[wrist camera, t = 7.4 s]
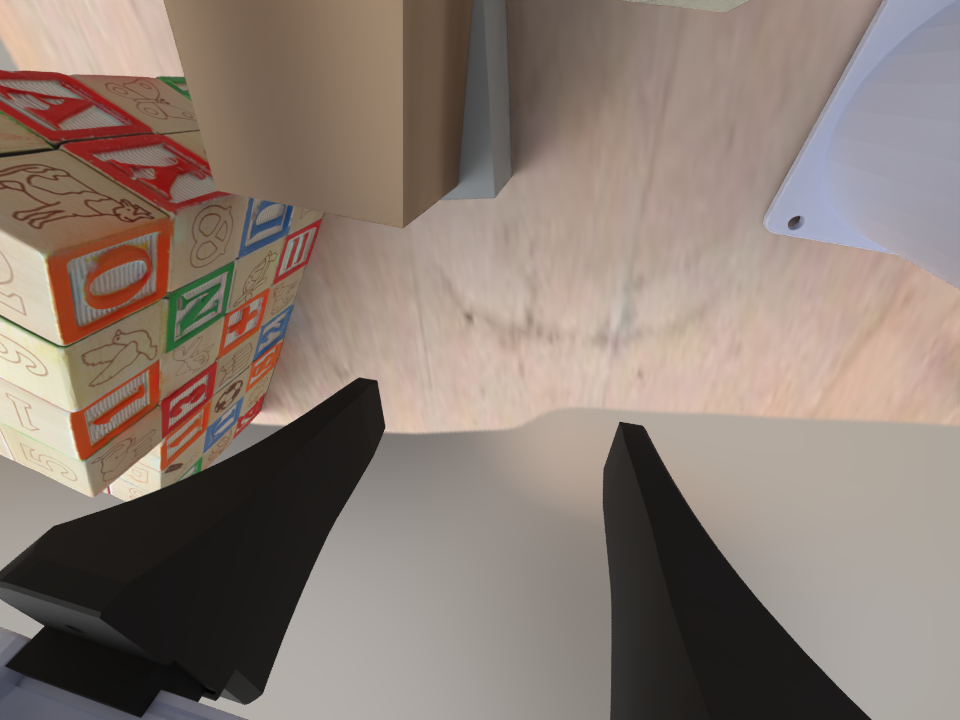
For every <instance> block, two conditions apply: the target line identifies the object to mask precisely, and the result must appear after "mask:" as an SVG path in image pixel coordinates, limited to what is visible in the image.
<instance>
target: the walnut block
mask: <svg viewBox="0 0 960 720" xmlns="http://www.w3.org/2000/svg"><path fill="white" fill-rule="evenodd" d="M164 4H165V7H166V11H167V14H168V18H169V22H170V25H171V29H172V32H173V36H174V40H175V43H176V47H177V50H178V54H179V58H180V61H181V65H182V68H183V72H184V76H185V79H186V83H187V86H188V90H189V94H190V97H191V101H192V104H193V108H194V112H195V115H196V119H197V122H198V126H199V130H200V133H201V137H202V140H203V144H204V148H205V151H206V155H207V158H208V162H209V166H210V169H211V173H212V176H213V180H214V183H215V187H216V191H221V192H226V193H231V194H236V195H240V196H245V197H250V198H255V199H260V200H265V201H270V202H275V203H280V204H285V205H290V206H295V207H300V208H305V209H310V210H315V211H319V212H324V213H329V214H334V215H339V216H344V217H349V218H354V219H359V220H364V221H369V222H374V223H379V224H384V225H389V226H394V227H398V228H404V227H405V226H407V225H408V224H409V223H410V222H412V221H413V220H414V219H416V218H417V217H418V216H420V215H421V214H422V213H423V212H425V211H426V210H427V209H429V208H430V207H431V206H432V205H434V204H435V203H436V202H438V201H439V200H440V199H441V198H443V197H444V196H445V195H447V194H448V193H449V192H450V191H452V190H453V189H454V188H456V187H457V186H458V182H459V170H460V157H461V145H462V133H463V120H464V108H465V96H466V83H467V71H468V59H469V46H470V34H471V22H472V10H473V0H164Z"/></svg>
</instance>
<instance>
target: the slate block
mask: <svg viewBox="0 0 960 720" xmlns="http://www.w3.org/2000/svg"><path fill="white" fill-rule="evenodd" d="M511 177H512V171H511V141H510V110H509V79H508V49H507V18H506V0H473V10H472V22H471V34H470V46H469V59H468V71H467V83H466V96H465V108H464V120H463V133H462V145H461V157H460V170H459V182H458V186H457V187H456V188H454V189H453V190H452V191H450V192H449V193H448V194H447V195H445V196H444V197H443V198H441V199H440V200H457V199H484V198H495V197H496V196H497V195H498V193H499V192H500V191H501V190H502V188H503V187H504V186H505V185H506V183H507V182H508V181H509V179H510V178H511Z"/></svg>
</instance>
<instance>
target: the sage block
mask: <svg viewBox="0 0 960 720" xmlns="http://www.w3.org/2000/svg"><path fill="white" fill-rule="evenodd" d="M622 1H630V2H639V3H647V4H656V5H664V6H673V7H681V8H690V9H698V10H707V11H715V12H724V13H725V12H727V11H729V10H731V9H733V8H735V7H737V6H739V5H741V4H743V3H745V2H747V1H749V0H622Z"/></svg>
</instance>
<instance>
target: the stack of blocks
mask: <svg viewBox="0 0 960 720" xmlns="http://www.w3.org/2000/svg"><path fill="white" fill-rule="evenodd" d="M323 215H324V212H319V211H315V210H310V209H305V208H300V207H295V206H290V205H285V204H280V203H275V202H270V201H265V200H260V199H255V198H250V197H245V196H240V195H236V194H231V193H226V192H221V191H216V187H215V183H214V180H213V176H212V173H211V169H210V166H209V162H208V158H207V155H206V151H205V148H204V144H203V140H202V137H201V133H200V130H199V126H198V122H197V119H196V115H195V112H194V108H193V104H192V101H191V97H190V94H189V90H188V86H187V83H186V79H185V77H156V78H149V77H131V76H107V75H70V76H68V75H65V74H61V73H56V72H39V71H2V70H0V454H1V455H3V456H5V457H7V458H9V459H11V460H14V461H16V462H18V463H20V464H22V465H24V466H27V467H29V468H31V469H33V470H36V471H38V472H40V473H42V474H44V475H47V476H48V477H50V478H53V479H54V480H56V481H58V482H60V483H62V484H64V485H66V486H68V487H70V488H73V489H75V490H77V491H79V492H81V493H83V494H86V495H87V496H90V497H95V496H97V495H98V494H99V493H101V492H102V491H104V492H105V493H108V494H112V495H114V496H116V497H118V498H120V499H122V500H124V501H126V502H128V501H130V500H133V499H136V498H138V497H141V496H144V495H146V494H149V493H151V492H154V491H156V490H159V489H161V488H164V487H166V486H169V485H171V484H174V483H176V482H178V481H181V480H183V479H185V478H187V477H190V476H192V475H194V474H196V473H198V472H201V471H203V470H205V469H206V468H207V467H208V466H209V465H210V464H211V463H212V462H213V461H214V460H215V459H216V458H217V457H218V456H219V455H220V454H221V453H222V452H223V451H224V450H225V449H226V448H227V447H228V445H229V444H230V443H231V442H232V440H233V439H234V438H235V437H236V436H237V435H238V434H239V433H240V432H241V431H242V430H243V429H244V428H245V427H247V425H248V424H249V423H250V422H251V421H252V420H253V419H254V418H255V417H256V416H257V415H258V414H259V412H260V409H261V405H262V402H263V398H264V395H265V392H266V391H267V390H268V386H269V383H270V380H271V377H272V374H273V371H274V366H275V364H276V362H277V359H278V356H279V353H280V350H281V347H282V343H283V341H284V338H283V335H284V333H285V330H286V327H287V323H288V321H289V317H290V314H291V311H292V308H293V302H294V300H295V297H296V294H297V291H298V288H299V285H300V281H301V278H302V275H303V272H304V268H305V265H306V264H307V263H308V260H309V257H310V254H311V251H312V248H313V245H314V242H315V239H316V236H317V233H318V230H319V226H320V223H321V220H322V217H323Z"/></svg>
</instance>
